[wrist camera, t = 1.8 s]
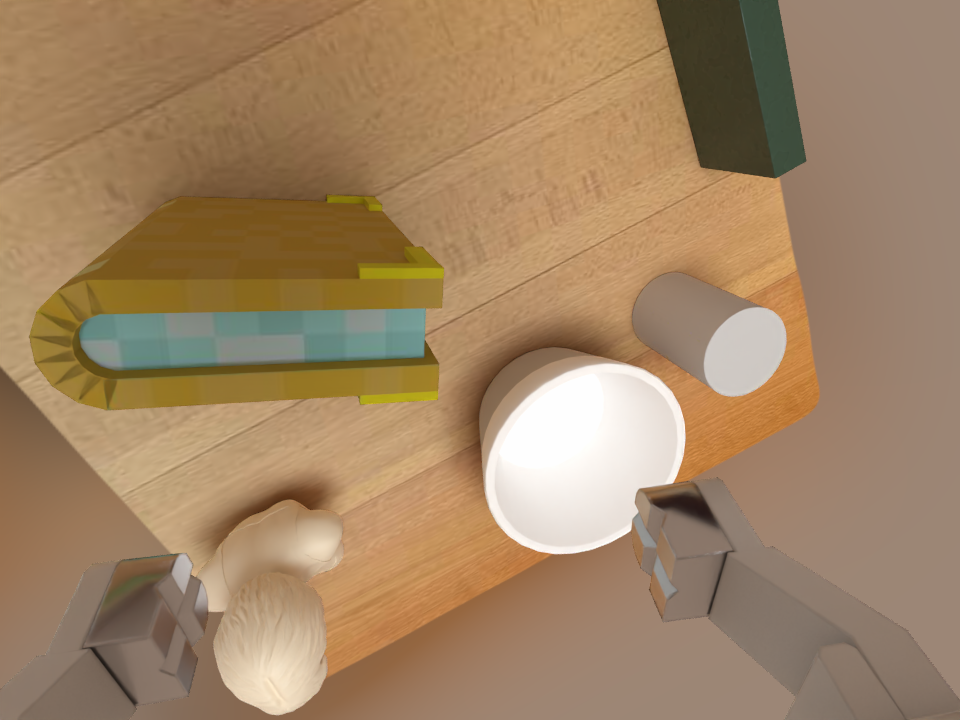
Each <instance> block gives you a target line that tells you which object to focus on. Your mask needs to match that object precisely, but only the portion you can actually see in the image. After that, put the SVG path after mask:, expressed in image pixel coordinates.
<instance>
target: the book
mask: <svg viewBox="0 0 960 720" xmlns="http://www.w3.org/2000/svg"><path fill="white" fill-rule="evenodd" d="M326 197H327V201H312V200H280V199H247V198H215V197H183V196H180V197H178V198H175V199H172V200H170V201H167V202H165V203H164V204H163V205H161V206H160V207H159V208H158V209H157V210H155V211H154V212H153V213H152V214H150V215H149V216H148V217H147V218H146V219H144V220H143V221H142V222H141V223H139V224H138V225H137V226H136V227H134V228H133V229H132V230H131V231H130V232H128V233H127V234H126V235H125V236H123V237H122V238H121V239H120V240H119V241H117V242H116V243H115V244H114V245H112V246H111V247H110V248H109V249H107V250H106V251H105V252H104V253H103V254H101V255H100V256H99V257H98V258H96V259H95V260H94V261H93V262H92V263H90V264H89V265H88V266H87V267H85V268H84V269H83V270H82V271H81V272H79V273H78V274H77V275H76V276H74V277H73V278H72V279H71V280H69V281H68V282H67V283H66V284H65V285H63V286H62V287H61V288H60V289H58V290H57V291H56V292H55V293H54V294H53V295H52V296H51V297H50V298H49V299H48V300H47V301H46V302H45V303H44V304H43V305H42V306H41V307H40V308H39V309H38V310H37V312H36V315H35V319H34V322H33V325H32V329H31V332H30V336H29V338H30V343H31V347H32V352H33V357H34V361H35V364H36V365H37V367H38V368H39V369H40V371H41V372H42V373H43V375H44V376H45V377H46V379H47V380H48V381H49V383H50V384H51V385H52V386H53V387H54V388H56V389H57V390H59V391H60V392H62V393H63V394H65V395H67V396H68V397H70V398H71V399H73V400H74V401H76V402H78V403H81V404H85V405H89V406H93V407H97V408H101V409H104V410H122V409H139V408H156V407H174V406H191V405H208V404H225V403H242V402H260V401H277V400H294V399H311V398H328V397H346V396H358V398H359V402H360V405H362V404H378V403H395V402H411V401H427V400H438V382H439V363H438V361H437V360H436V358H435V356H434V355H433V353H432V351H431V349H430V348H429V346H428V344H427V343H426V341H425V316H426V308H442V298H443V278H444V268H443V267H442V266H441V265H440V264H439V263H438V262H437V261H436V260H435V259H434V258H433V257H432V256H431V255H430V254H429V253H428V252H427V251H426V250H425V249H424V248H423V247H414V245H413V244H412V243H411V242H410V241H409V240H408V239H407V238H406V237H405V236H404V234H403V233H402V232H401V231H400V230H399V229H398V228H397V227H396V226H395V225H394V223H393V222H392V221H391V220H390V219H389V218H388V217H387V216H386V215H385V214H384V212H383V211H382V204H381V203H380V202H379V201H378V200H377V199H376V198H375V197H374V196H346V195H326Z"/></svg>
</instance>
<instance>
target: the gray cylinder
mask: <svg viewBox="0 0 960 720" xmlns="http://www.w3.org/2000/svg"><path fill="white" fill-rule="evenodd" d="M632 323H633V328H634V331H635V333H636V335H637V337H638V338H639V339H640V340H641V341H642V342H643V343H644V344H646V345H647V346H649V347H650V348H652V349H653V350H655V351H656V352H658V353H659V354H661V355H662V356H664V357H665V358H667V359H668V360H670V361H671V362H673V363H674V364H676V365H677V366H679V367H680V368H682V369H683V370H685V371H686V372H688V373H689V374H691V375H692V376H694V377H695V378H697V379H698V380H700V381H701V382H703V383H704V384H706V385H707V386H709V387H710V388H712V389H713V390H715V391H716V392H718V393H719V394H722V395H725V396H741V395H745V394H748V393H750V392H752V391H754V390H756V389H757V388H759V387H760V386H762V385H763V384H764V383H765V382H766V381H767V380H768V379H769V378H770V377H771V376H772V375H773V374H774V372H775V371H776V369H777V368H778V366H779V364H780V362H781V360H782V358H783V355H784V352H785V347H786V330H785V326H784V324H783V322H782V320H781V318H780V317H779V316H778V315H777V314H776V313H775V312H773V311H771V310H769V309H767V308H764V307H762V306H760V305H757V304H755V303H753V302H750V301H748V300H746V299H743V298H741V297H738V296H736V295H734V294H731V293H729V292H727V291H724V290H722V289H720V288H717V287H715V286H713V285H710V284H708V283H705V282H703V281H701V280H698V279H696V278H694V277H691V276H689V275H687V274H684V273H679V272H671V273H666V274H663V275H661V276H659V277H657V278H655V279H654V280H652V281H651V282H650V283H649V284H648V285H646V287H645V288H644V289H643V290H642V291H641V293H640V294H639V296H638V298H637V300H636V302H635V305H634V309H633V314H632Z"/></svg>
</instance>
